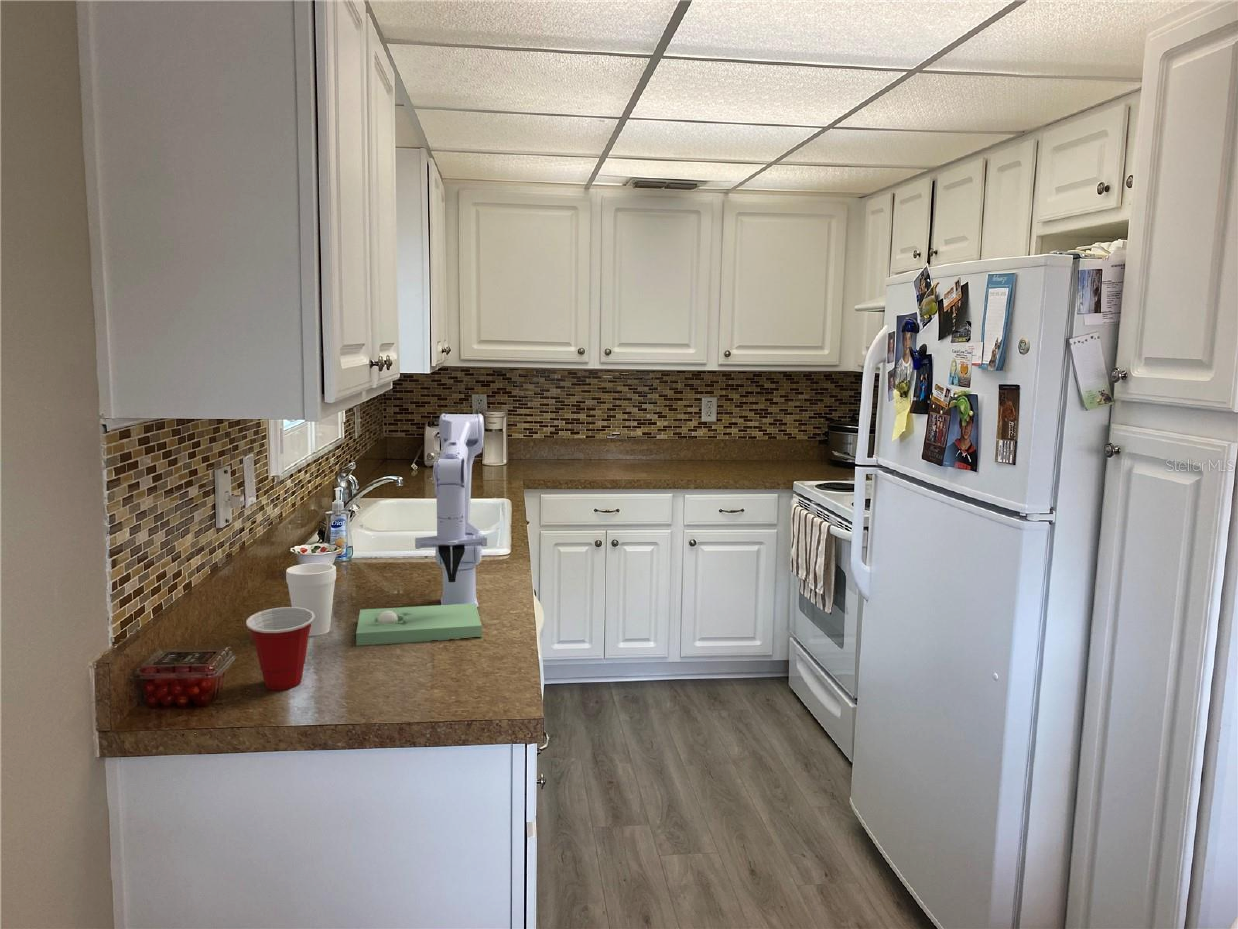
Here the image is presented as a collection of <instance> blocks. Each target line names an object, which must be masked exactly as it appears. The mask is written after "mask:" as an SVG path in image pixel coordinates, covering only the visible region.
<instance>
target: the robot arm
mask: <svg viewBox="0 0 1238 929" xmlns="http://www.w3.org/2000/svg"><path fill="white" fill-rule="evenodd" d="M484 420H485V419H484V416H483V415H482V413H478V414H469V413H468V414H467V413H466V414H465V413H464V414H462V413H461V414H460V413H458V414H455V413H453V414H451V413H447V414H446V413H441V415H440V416H439V422H438V431H439V438H440V444H441V448H440V454H439V457H438V460H437V461H436V460H435V461H434V462H433V467H432V468H433V469H432V471H433V472H432V478H433V482H434V495H435V496H436V535H433V536H425V537H415V539H414V543H415V546H414V548H415V550H420V549H429V548H430V549H431V548H434V549H435V563H436V564H437V565H439V566H441V569H442V594H443V595H442V596H441V597H440V603H441V604H440V605H454V604H472V603H476V607H478V606H479V603H478V599H477V595H476V594H477V593H476V592H477V591H476V588H477V587H476V585H477V584H476V566H477V565H480V563H481V562H482V556H483V555H482V553H483V552H482V551H483V550H482V547H488V536H487V535H482V533H481V531H480V529H479V528H478V527H476V526H475V525H474V524H472V523H471V522H470V519H471V496H472V495H471V494H472V474H473V473H472V472H473V463H474V460H475V456H477V455H479V454H481V453H482V452H483V448H484V437H485V436H484V435H485V421H484ZM479 607H480V606H479Z"/></svg>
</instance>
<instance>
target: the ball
mask: <svg viewBox="0 0 1238 929" xmlns="http://www.w3.org/2000/svg"><path fill="white" fill-rule="evenodd" d="M396 622H398V617H397V615H396V614H395V613H394V612H392V611H384V612H382V613H381V614H380V615H379V617H378V623H382V624H385V623H396Z"/></svg>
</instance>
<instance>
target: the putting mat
mask: <svg viewBox="0 0 1238 929" xmlns="http://www.w3.org/2000/svg"><path fill="white" fill-rule="evenodd" d="M384 611H392V612H394V613H395V614H396V615H397V617H398V622H396V623H385V624H382V623H378V617H379V615H380V614H381V613H382V612H384ZM482 631H483V625H482V621H481V617H480V613H479V611H478V608H477V607H476V603H472V604H454V605H441V604H440V605H439V604H438V605H420V606H419V605H418V606H402V607H386V608H385V607H383V608H367V609H360V610H359V615H358V621H357V626H356V632H355V636H356V640H355V641H356V646H357V647H358V646H371V645H372V646H373V645H387V644H388V645H389V644H392V645H393V644H404V643H405V644H406V643H417V642H419V643H420V642H422V641H423V642H432V641H431V640H438V641H449V639H454V640H456V639H455V638H465V637H482V638H483V632H482ZM423 642H422V643H423Z"/></svg>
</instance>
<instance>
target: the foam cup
mask: <svg viewBox="0 0 1238 929" xmlns="http://www.w3.org/2000/svg"><path fill="white" fill-rule="evenodd" d="M285 578H286V580H285V581H286V584H287V587H288V592H289V593H288V594H289V599H290V603H291V607H298V608H304V609H308V610H310V611H312V612H313V613H314V616H315V618H314V620H313V621H312V623H311V628H310V633H309V636H308V637H315V636H321V635H325V634H327V633H328V632H329V631H330V630H331V619H332V612H333V602H334V592H335V583H336V579H337V567H336V566H335V565H334V564H331V563H324V562H318V563H317V562H313V563H312V562H311V563H303V564H297V565H292V566H290V567H287V569H286V571H285Z"/></svg>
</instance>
